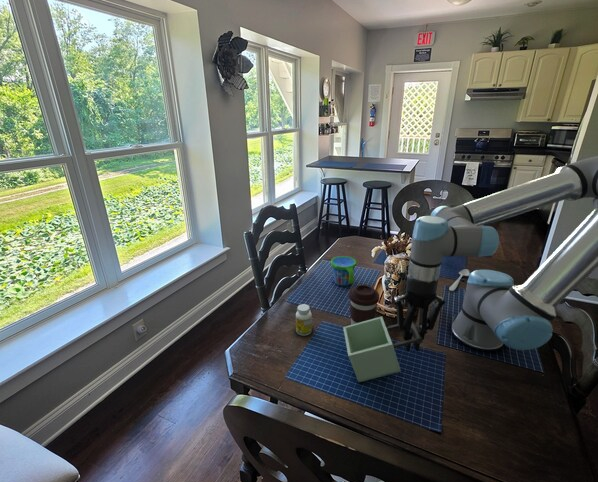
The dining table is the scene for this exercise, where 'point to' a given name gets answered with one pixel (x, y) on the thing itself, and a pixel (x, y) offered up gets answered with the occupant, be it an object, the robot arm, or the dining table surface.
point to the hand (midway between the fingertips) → (411, 347)
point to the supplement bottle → (303, 320)
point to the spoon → (463, 273)
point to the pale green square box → (374, 348)
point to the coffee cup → (363, 303)
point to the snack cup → (343, 270)
